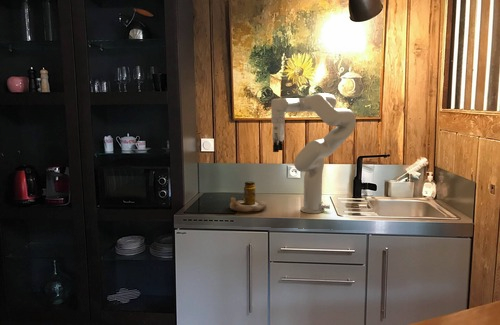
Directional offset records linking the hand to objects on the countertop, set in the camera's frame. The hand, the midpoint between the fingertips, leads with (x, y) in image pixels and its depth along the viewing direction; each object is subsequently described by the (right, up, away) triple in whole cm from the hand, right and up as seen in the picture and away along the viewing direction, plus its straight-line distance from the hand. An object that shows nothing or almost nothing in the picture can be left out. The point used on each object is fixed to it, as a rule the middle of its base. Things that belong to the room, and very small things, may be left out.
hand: (277, 151), depth 238 cm
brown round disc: (-17, -31, -10) cm, 37 cm away
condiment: (-17, -29, -11) cm, 36 cm away
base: (-17, -32, -10) cm, 38 cm away
